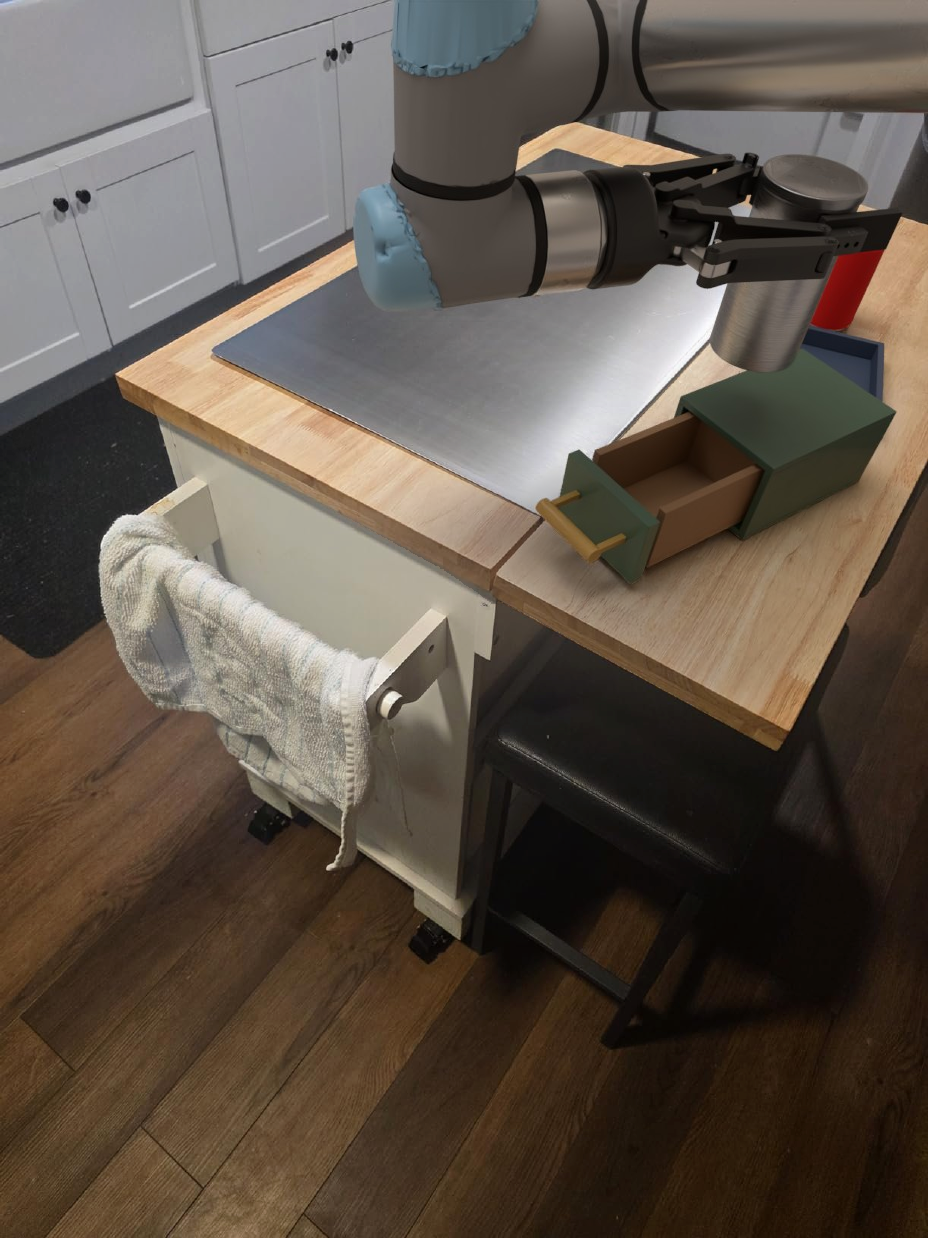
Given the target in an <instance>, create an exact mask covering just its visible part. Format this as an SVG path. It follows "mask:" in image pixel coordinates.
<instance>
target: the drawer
mask: <svg viewBox="0 0 928 1238" xmlns="http://www.w3.org/2000/svg"><path fill="white" fill-rule="evenodd" d="M567 454H568V455H567V458H566V463H565V468H564V473H563V477H562V478H563V479H562V484H561V486H560V487H561V488H560V493H559V497H556V498H554V499H551V500H550V499H549V498H548V497H543V498H541V499H540V500H538V502H537V503H536V505H535V511H536V513H538V514H539V515H540V517H542V518H543V520H544V521H546V522H547V524H549V526H551V527H552V528H553V530H555V531H556V533H558V534H559V535H560V536H561V538H563V539H564V540H565V541H566V542H567V543H568V544H569V545H570V546H571V548H572V549H574V550H575V551H576V553H578V554H579V555H580V557H582V558H583V559H584V560H585V562H587V563H588V564H593V563H595V562H596V561H598V559H599V558H600V557H602V559H604V560H605V561H606V562H607V564H609V565H610V566H611V567H612V568H613V569H614V570H615V571H616V572H617V573H618V574H619V575H620V576H621V577H622V578H623V579H624V580H625V581H626V582H627V583H628V584H629V585H632V584H635V583H636V582H639V581H640V580H642V578H643V577H642V576H643V574H644V571H645V568H649V567H652V566H654V565H656V564H659V563H661V562H662V561H664V560H665V559H668V558H670V557H672V556H674V555H676V554H679V553H681V552H683V551H684V550H687V549H688V548H690V547H692V546H694V545H697V544H699V543H700V542H702V541H705V540H706V539H709V538H711V537H713V536H714V535H717V534H719V533H721V532H722V531H725V530H727V529H728V528H729V527H731V526H733V525H735V524H737V523H739V522H741V521H743V520H744V518H745V516H746V514H747V512H748V509H749V507H750V505H751V502H752V500H753V498H754V496H755V493H756V491H757V489H758V486H759V484H760V482H761V480H762V477H763V475H764V473H765V470H764V469H763V468H761V467H760V466H759V465H758V464H756V463H755V462H754V461H753V460H751V459H750V458H749V457H747V456H746V455H745V454H744V453H742V452H741V451H740V450H739V449H737V448H736V447H735V446H733V445H732V444H731V443H730V442H728V441H727V440H726V439H725V438H723V437H722V436H721V435H719V434H718V433H717V432H716V431H714V430H713V429H712V428H711V427H709V426H708V425H707V424H705V423H704V422H703V421H702V420H700V419H699V418H698V417H697V416H695V415H694V414H693V413H691V412H687V413H685V414H683V415H680V416H678V417H675V418H674V417H673V418H670V419H668V420H665V421H663V422H661V423H658V424H655V425H653V426H650V427H648V428H646V429H643V430H640V431H638V432H636V433H634V434H631V435H628V436H626V437H623V438H621V439H618V440H616V441H613V442H611V443H608V444H606V445H604V446H602V447H599V448H596V449H594V451H593V456H592V459H591V458H590V457H588V456H587V454H585V453H584V452H583V450H581V449H576V450H573V451H571V452H569V453H567Z"/></svg>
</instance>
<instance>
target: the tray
mask: <svg viewBox="0 0 928 1238" xmlns="http://www.w3.org/2000/svg"><path fill="white" fill-rule="evenodd" d="M800 349H804V350H806V351H807V352H809V353H810V354H812V355H813V356H815V357H816V358H818V359H819V360H821V361H822V362H824V363H825V364H827V365H828V366H830V367H831V368H833V369H834V370H836V371H837V372H839V373H840V374H842V375H843V376H844V377H846V378H847V379H849V380H850V381H852V382H853V383H855V384H856V385H858V386H859V387H861V388H862V389H864V390H865V391H867V392H868V393H870V394H871V395H873V396H874V397H876V398H877V399H879V400H880V401H882V402H883V403H884V373H885V371H884V369H885V343H884V342H882V341H878V340H873V339H869V338H865V337H860V336H856V335H852V334H847V333H843V332H840V331H831V330H827V329H823V328H819V327H814V326H810V325H809V328H808V330H807V332H806V335H805V337H804V340H803V342H802V344H801V347H800ZM800 349H799V350H800Z"/></svg>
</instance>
